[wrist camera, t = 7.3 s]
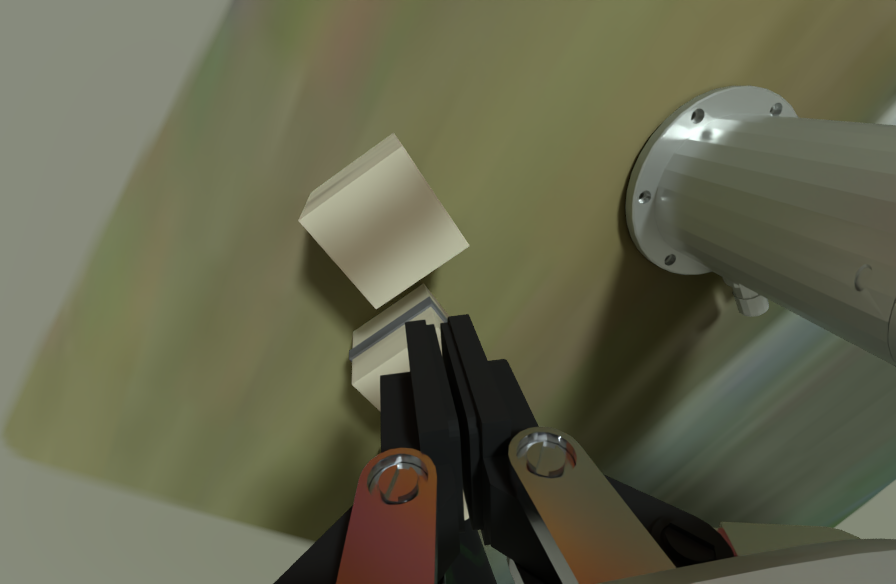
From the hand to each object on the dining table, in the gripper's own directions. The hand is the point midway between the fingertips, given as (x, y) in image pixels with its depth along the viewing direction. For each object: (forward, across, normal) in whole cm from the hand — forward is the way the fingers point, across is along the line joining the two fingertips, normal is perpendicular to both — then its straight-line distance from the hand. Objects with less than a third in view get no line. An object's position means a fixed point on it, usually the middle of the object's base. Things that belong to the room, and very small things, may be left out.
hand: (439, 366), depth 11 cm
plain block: (+17, +1, 0) cm, 17 cm away
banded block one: (+17, 0, +10) cm, 20 cm away
